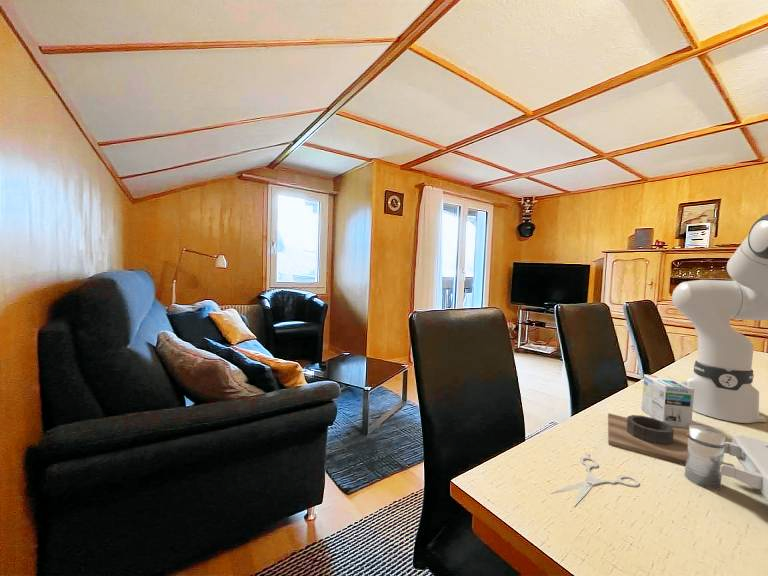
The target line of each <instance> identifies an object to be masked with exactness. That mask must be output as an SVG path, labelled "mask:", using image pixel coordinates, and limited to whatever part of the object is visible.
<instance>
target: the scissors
mask: <svg viewBox="0 0 768 576" xmlns="http://www.w3.org/2000/svg"><path fill="white" fill-rule="evenodd" d="M584 455H585V456H583V457H580V458H579V461H580V463H581V464H582V465H583V466H585V467H586V468H585V471H586V472H587V473H588V475H587V477H586V478H585V480H584V481H582V482H578V483H575V484H572V485H571V484H570V485H569V486H565V487H563V488H560V489H556V490H555V491H552V492H551V494H555V493H561V492H568V491H571V490H573V491H574V490H578V489H580V492H579V493H578V495H577V498H576V501H575V504H574V506H573V507H575V506H576V505H578V503H579V502H580V501H581V500H582V499H583V498H584V497H585V496H586V495H587V494H588V493H589V491H590V490H591V489H592V488H593V487H594V486H597V485H601V484H610V485H615V484H620V485H622V486H623V485H624V486H626V487H634V488H635V487H638V486H639V485H640V482H639V481H638V480H637V479H636V478H634V477H632V476H629V475H623V474H621V475H617V476H616V478H617V479H614V480H607V479H606V480H605V479H601V478H595V477H594V475H593V474H592V472H591V469H592V468H593V469H594V468H596V469H597V468H598V467H599V464H598V462H597V461H596V460H595V459H593V458H591V457H590V452H584ZM585 460H588V461H591V462H593V464H589V463H586V462H585ZM623 479H630V480H632V481H634V482H635V483H634V484H633V483H628V482H625V481H623Z"/></svg>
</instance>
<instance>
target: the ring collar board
mask: <svg viewBox="0 0 768 576" xmlns="http://www.w3.org/2000/svg"><path fill="white" fill-rule="evenodd" d="M607 426H608V428H607V430H608V432H607V435H608V436H607V440H608V442H607V443H608V445H610V446H613V447H617V448H622V449H625V450H629V451H632V452H635V453H639V454H643V455H647V456H650V457H652V458H653V457H654V458H658V459H661V460H665V461H668V462H672V463H676V464H680V465H683V466H685V465H686V455H687V444H688V433H687V431H686V430H683V429H679V428H676V427H675V428H674V427H673V426H670V425H668V424H667V423H665V422H662V421H660V420H657V419H654V418H653V417H651V416H649V417H648V416H645V415H635V414H632V415H627V417H626V416H622V415H617V414H614V413H610V412H608V414H607Z"/></svg>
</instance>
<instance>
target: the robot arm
mask: <svg viewBox="0 0 768 576" xmlns="http://www.w3.org/2000/svg"><path fill="white" fill-rule="evenodd" d="M726 271H727V273H728V276H729V277H730V278H731V280H720V279H718V280H717V279H698V280H697V279H695V280H688V281H682V282H680V283H679V284H678V285H676V286H675V288H674V289H673V291H672V295H671V303H672V304H673V306H674V308H675V309H676V310H677V311H678V312H679V313H680V314H682V315H683V316H685V317H686V318H687V319H688V320H689V321H690V322H691V324H692V325H693V328H694V329H695V331H696V336H697V356H696V357H697V359H696V360H695V361H694V365H693V374H692V375H691V376H690V377H689V378H688V379H687V380H681V383H682V384H684V385H686V386H688V387H691V388H693V389H694V399H693V411H692V412H696V413H698V414H702V415H704V416H708V417H711V418H715V419H718V420H722V421H727V422H731V423H732V422H734V423H739V424H740V423H742V424H753V423H766V422H767V418H766V417H765V416H763V415H762V414H760V391H759V390H758V389H757V388H756V387H754V386H753V384H752V383H754V382H753V381H754V378H755V377H754V376H755V375H754V370H753V369H752V367H753V358H754V357H753V356H754V346H755V345H754V343H753V342H752V341H751V339H749V337H747V336H746V335H744V334H742V333H740V332H738V331H736V330H734V329H733V328H732V326H731V323H730V322H731V321H730V320H731V319H732V320H746V321H747V320H748V321H768V213H767V214H764V215H762V216H761V217H759V218H758V219H757V220H756V221H755V222H754V223H753V224H752V226H751V228H750V230H749V232H748V235H747V236H746V237H745V238H744V240H743V241H742V242H741V243H740V245H739V246H738V247H737V248H736V250H735V251H734V253H733V254H732V255H731V257H730V258H729V259H728V261H727V264H726ZM724 454H728V455H729V456H731V457H732V456H733V457H735V458H736V459H737V460H738V462H739V463H740V464H741V466H742V467H743V468H744V469H743V468H740V467H737V466H735V465H734V464H732V463H728V462H727V463H726V462H724V461H723V462H720V463H719V470H720V472H721V474H722V476H725V477H729V478H732V479H735V480H737V481H739V482H741V483H743V484H746V485H748V486H750V487H753V488H756V489H758V490H760V492H761V494H762V496H763V497H764V498H765V499H766V501H767V502H768V442H767V441H763V440H760V439H759V440H758V439H756V438H752V437H747V436H744V435H733V436H732V438H731V441H725V448H724Z"/></svg>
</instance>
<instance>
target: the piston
mask: <svg viewBox="0 0 768 576" xmlns="http://www.w3.org/2000/svg"><path fill="white" fill-rule="evenodd" d="M687 435H688V444H687V455H686V465H684V466H685V467H684V477H685V479H687V480H688V481H689V482H691V483H693V484H694V485H697V486H699V487H702V488H705V489H709V490H719V489H721V488H722V487H721V485H722V477H723V475H722V474H721V472H720V470H719V463H720V462H724V455H725V453H724V448H725V442H726V438H727V436H726V434H725V433H724V432H721V430H719V429H715V428H712V427H709V426H705V425H700V424H691V425H690V426H689V428H688V433H687Z"/></svg>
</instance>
